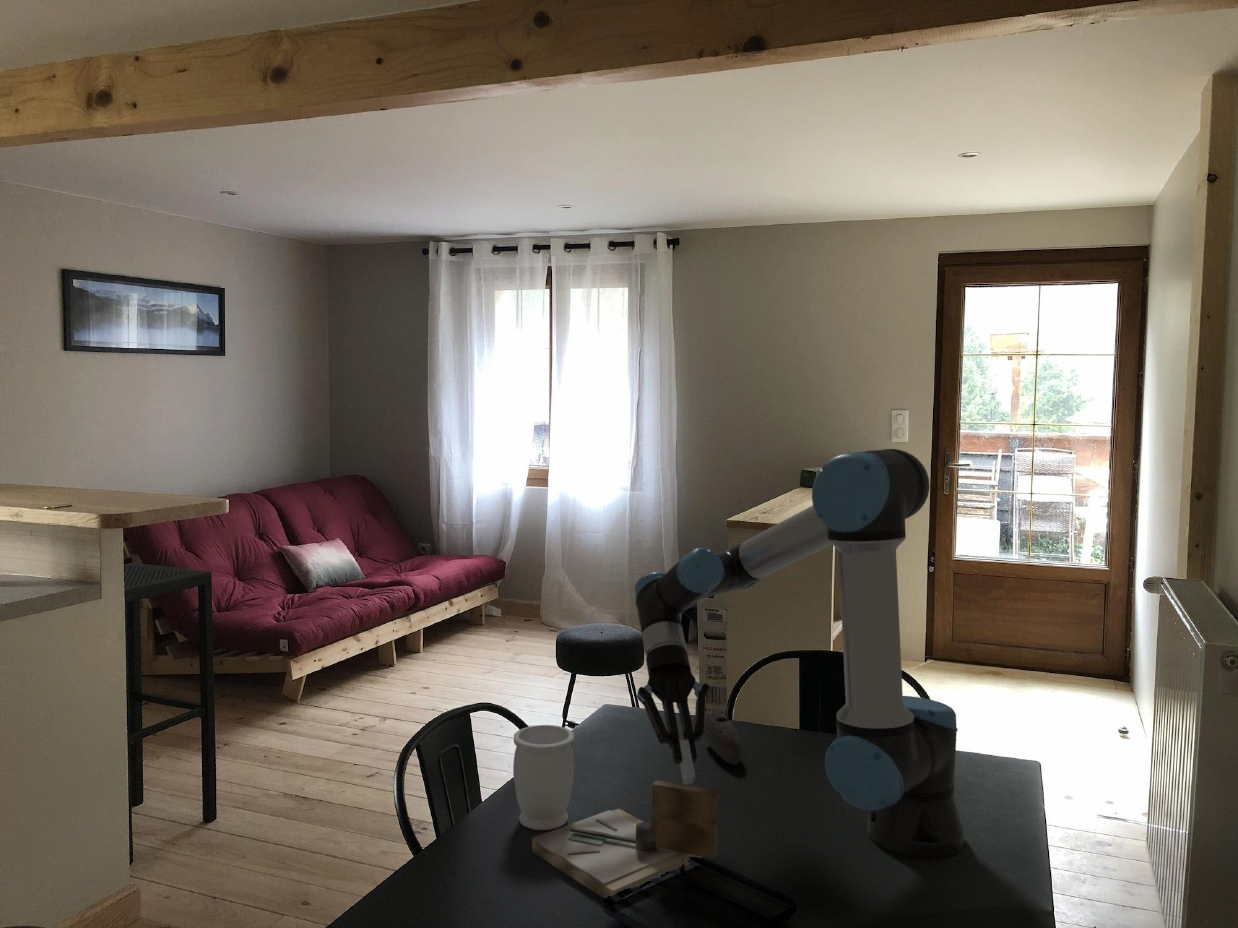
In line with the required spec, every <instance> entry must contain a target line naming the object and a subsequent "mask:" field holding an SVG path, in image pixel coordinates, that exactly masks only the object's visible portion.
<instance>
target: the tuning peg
mask: <svg viewBox="0 0 1238 928" xmlns="http://www.w3.org/2000/svg"><path fill="white" fill-rule="evenodd" d="M651 789H652V793H651V795H652V796H651V797H652V802H651V804H652V805H651V808H652V809H651V810H652V811H651V821H643V822H640V823H638V824H637V825H636V839H632V838H627V837H621V836H616V835H610V834H605V833H599V832H594V831H589V830H583V829H578V828H572V827H571V828H570V831H571V832H576V833H581V834H587V835H592V836H598V837H603V838H608V839H614V840H619V841H625V842H630V843H635V844H636V847H637V848H638V849H640V850H643V851H652V850H655V849H657V848H660V849H666V850H671V851H677V852H682V853H687V854H693V855H698V856H702V858H703V857H705V858H709V859H716V857H717V855H718V821H719V819H718V818H719V816H718V815H719V790H718V789H711V788H706V787H698V786H692V785H689V784H686V785H683V783H682V784H680V783H674V782H669V781H661V780H655V781H653V783H652V788H651Z"/></svg>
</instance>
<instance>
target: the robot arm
mask: <svg viewBox="0 0 1238 928" xmlns="http://www.w3.org/2000/svg"><path fill="white" fill-rule="evenodd" d="M929 493H930V478H929V475H928V472H927V469H926V468H925V465H923V463H922V462H921V461H920V460H919V459H918V457H916V456H914V455H913V454H911V453H909V452H907V451H905V450H901V449H898V448H883V449H875V450H874V449H873V450H856V451H848V452H846V453H842V454H838V455H836V456H833V457H832V458H831V459H829V460H828V461H826V462H825V464H823V466H822V467H821V468H820V469H819V471H818V472H817V474H816V476H815V478H814V481H813V484H812V491H811V501H812V505H811V506H809V507H807V508H805V509H803V510H801V511H799V512H797V513H795V514H793V515H792V516H790V517H788V518H786V519H785V520H782V521H781V522H778V523H777V524H775V525H773V526H771V527H769V528H767V529H766V530H764V531H761V532H760V533H757V534H756V535H754V536H752V537H750V538H748V539H746V540H745V541H742V542H741V543H739V544H737V545H735V546H733V547H731V548H730V549H726V550H725V551H720V552H716V553H715V552H714V551H712V550H710V549H706V547H698V548H694V549H693V550H692V551H690V552H689V553H687V554H685V555H683V556H682V558H681V559H679V561H678V562H677V563H676V564H674V565H673V566H672V567H671V568H670V569H669V570H668V571H666V573H665V572H658V571H655V572H650V573H648V575H643V576H641V577H639V579H638V580H637V581H636V582H635V586H634V591H635V592H634V593H635V607H636V608H637V615H638V621H639V627H640V630H641V631H640V632H641V636H642V643H643V649H644V655H645V662H646V666H647V667H646V669H647V675H648V679H647V680H648V681H647V684H646V685H645V686H640V687H639V688H638V691H637V694H636V699H638V701H639V702H640V703H641V704H642V706H643V707H644V709H645V712H646V714H647V716H648V718H649V720H650V721H649V722H650V724H651V726H652V728H653V731H654V732H655V736H656V737H657V739H658V742H659V743H660V744H668V747H669V748H670V749H671V754H672V755H671V756H672V761H673V763H674V764H675V765H676V764H679V766H680V772H681V779H682V785H693V783H694V781H695V779H696V774H695V768H694V763H696V761H697V758H698V754H697V750H696V749H697V748H696V742H700V741H701V739H702V737H703V735H704V734H705V733H704V726H705V713H706V698H707V694H708V691H709V690H710V685H709V684H708V683H703V684H702V683H700V682H699V681H698V682H697V681H696V677H695V676H694V674H693V673H692V670H691V665H690V660H689V654H688V651H687V650H686V649H687V644H686V639H685V636H684V630H683V624H682V618H681V616H682V614H683V613H684V612H686V611H688V609H690V608H691V607H692V606H693V605H695V603H697V602H698V601H701V600H702V599H704V598H710V597H714V596H717V595H720V594H724V593H728V592H733V591H737V590H745V589H749V588H750V587H753V586H754V585H757V584H758V583H759V582H761V580H762V579H763V578H765V577H767V576H770V575H771V574H773V573H775V572H777V571H780V570H782V569H784V568H785V567H787V566H790V565H792V564H794V563H796V562H798V561H801V560H802V559H804V558H806V557H808V556H811V555H812V554H814V553H816V552H819V551H821V550H823V549H825V548H827V547H829V546H833V547H835V549H836V550H837V551H838V569H839V586H840V588H839V589H840V608H841V609H840V610H841V613H840V614H841V630H842V634H841V635H842V648H843V649H842V650H843V651H842V655H843V666H844V667H843V672H844V674H843V675H844V691H845V692H844V693H845V695H844V696H845V704H844V705H843V706H842V707H841V708H840V709H838V711H837V712H836V734H837V736H836V738H835V739H834V740H833V741H832V742H831V744H830V745H829V746H828V748H827V749H826V752H825V757H824V766H825V767H824V768H825V773H826V776H827V778H828V780H829V783H830V785H831V787H833V789H834V791H835V792H837V793H838V794H839V795H840V796H841V798H842V799H843V800H844V801H845V802H847V803H848V804H849V805H851V806H853V807H854V808H857V809H859V810H860V809H861V810H863V811H868V812H869V815H868V819H867V820H868V821H867V833H868V836H869V837H870V838H871V840H872V841H873V842H874V843H876V844H877V845H879V846H880V847H882V848H884V849H886V850H888V851H891V852H893V853H895V854H899V855H903V856H906V857H911V858H919V859H943V858H947V857H951V856H954V855H955V854H957V853H959V852H960V851H961V850H962V848H963V847H964V836H965V835H964V828H963V824H962V821H961V817H960V814H959V810H958V808H957V807H958V806H957V803H956V801H955V796H954V795H955V792H954V791H955V774H956V772H955V771H956V770H955V769H956V751H957V750H956V749H957V732H958V730H959V729H958V727H957V714H956V712H955V710H954V709H953V708H952V707H951V706H949V705H948V704H945V703H943V702H940V701H937V700H933V699H929V698H924V697H918V696H910V695H903V675H902V674H903V673H902V671H903V670H902V654H901V653H902V651H901V648H902V647H901V632H900V630H901V629H900V612H899V611H900V609H899V606H900V605H899V588H898V586H899V585H898V565H897V564H898V563H897V561H898V560H897V549H898V547H899V546H900V545H901V544H902V543H903V542H904V541H905V540H906V538H907V537H906V536H907V535H906V533H907V532H906V519H909V518H911V517H913V516H914V515H916V514H917V513H918V512H919V511H920V510H922V508H923V506H924V505H925V504H926V502H927V500H928V497H929ZM692 690H694V695H695V697H696V701H695V710H694V711H695V715H694V729H693V722H692V718H691V713H690V709H689V708H690V707H689V702H688V700H689V699H688V698H689V695H690V694H691V692H692ZM653 694H654V696H655V697H656V698H657V699H658V700H659V701H661V704H662V710H663V713H664V718H665V723H664V721H663V718H662V717H661V713H660V711H659V710H658V707H657V705H656V702H655V700H654V697H653ZM674 703H675V704H676V709H678V714H679V719H680V725H681V732H682V736H683V739H680V733H679V729H678V723H677V718H676V712H675V708H674V707H675V706H674ZM665 724H666V725H665Z"/></svg>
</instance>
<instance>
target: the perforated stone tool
mask: <svg viewBox="0 0 1238 928" xmlns="http://www.w3.org/2000/svg"><path fill="white" fill-rule="evenodd" d="M703 734H704V737H705V739H706V741H707V743H708V745H709V748H711V750H712V751H713V752H714V753H715V754H716V755H717V756H718V757H719V758H721V759H722V760H723V761H724V762H726V763H727V764H728V765H729V764H730V765H732V766H737V765H739V764H740V762H741V760H742V755H743V746H742V745H743V744H742V740H741V738H740V735H739V733H738V731H737V729H736V727H735V725H734V724H733V722H732V721H731V720H729V719H728V717H726V716H725V715H724V714H723V713H720V712H712V713H709V715H707V717H706V718H705V721H704V733H703Z"/></svg>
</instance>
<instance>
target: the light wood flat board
mask: <svg viewBox="0 0 1238 928" xmlns="http://www.w3.org/2000/svg"><path fill="white" fill-rule="evenodd" d="M640 822H644V821H643V820H641V819H639V818H637V817H635V816H633V815H632V814H630V813H628V812H626V811H624V810H623V809H620V808H616V809H612V810H610V809H609V810H605V811H603V812H599V813H598V814H594V815H593V816H592V815H591V816H589V817H587V818H584V819H581V820H579V821H575V822H573V823H569V824H568V825H565V826H561V827H558V828H555V829H552V830H549V831H547V832H545V833H542V834H540V835H536V836H534V837H532V838H531V841H532V842H531V846H532V847H531V848H532V850H531V851H532V853H533V854H534V855H536V856H538V857H539V858H540V859H543V860H544V861H545V862H547V863H549V864H550V865H552V866H553V867H555V868H556V869H558V870H559V871H561V872H562V873H564V874H565V875H567V876H569V877H570V878H572V879H574V880H575V881H576V882H577V883H580V884H581V885H582V886H584V887H586V888H587V889H589V890H590V891H592V892H594V893H595V894H596V895H598V896H600V897H601V898H603V899H604V900H606V899H605V898H607V897H608V896H613V895H615V894H617V893H618V892H620V891H623V890H624V889H628V888H635V887H640V886H641V885H643V884H644V883H646V882H647V881H651V879H653V878H654V879H655V878H660V877H661V875H662V874H663V875H664V874H665V873H666V872H668V871H672V870H675V869H678V868H679V867H680V868H681V866H682V865H683V864H684V865H686V866H689V864H690V863H689V862H688V861H687V860H689V859H690V858H689V857H698V858H703V856H698V855H693V854H687V853H682V852H677V851H671V850H666V849H660V848H657V849H655V850H652V851H643V850H640V849H638V848H637V847H636V844H635V843H630V842H625V841H619V840H614V839H608V838H603V837H598V836H592V835H587V834H581V833H576V832H571V831H570V828H571V827H572V828H578V829H583V830H589V831H594V832H599V833H605V834H610V835H616V836H621V837H627V838H632V839H636V825H637V824H638V823H640ZM685 858H686V859H685ZM683 859H684V861H681V860H683Z"/></svg>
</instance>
